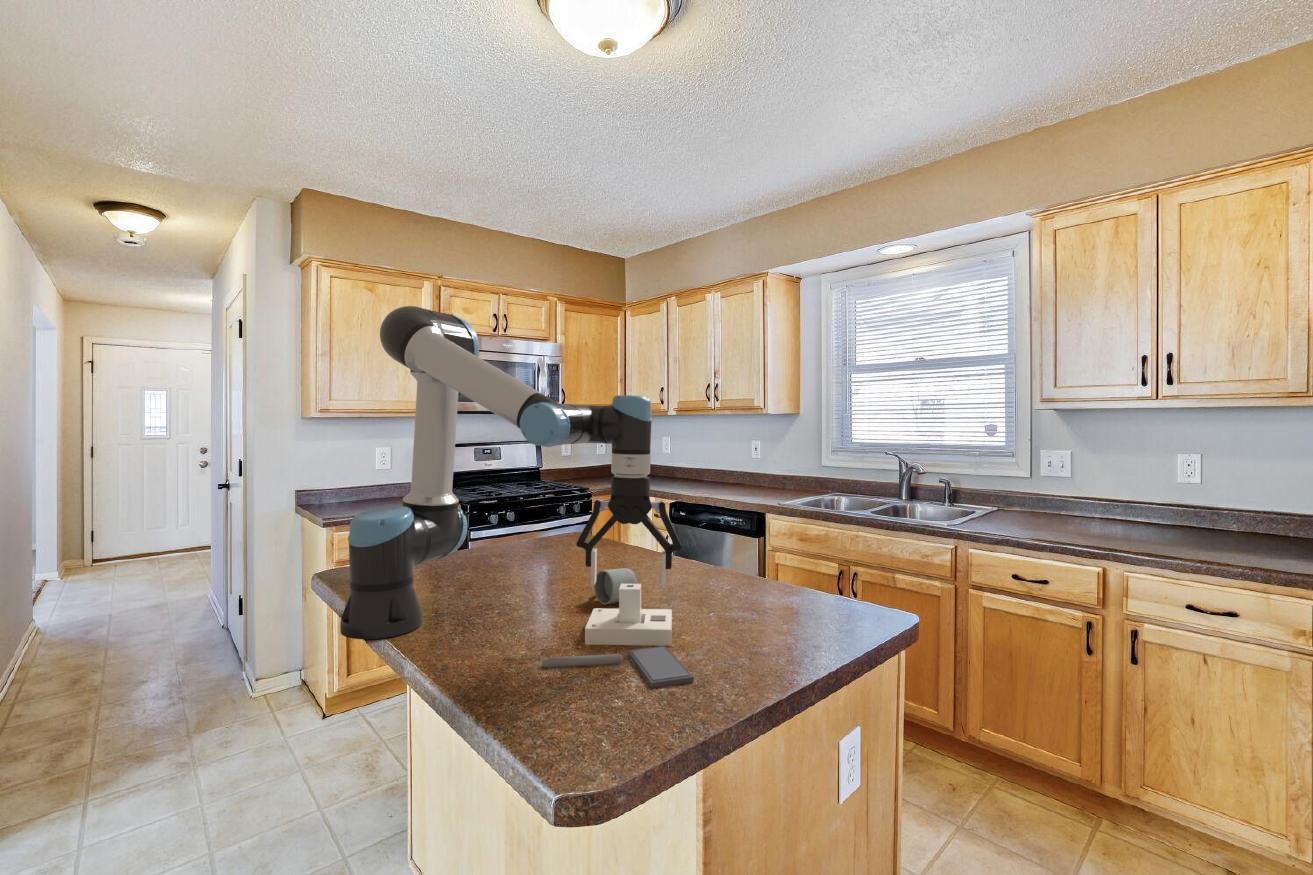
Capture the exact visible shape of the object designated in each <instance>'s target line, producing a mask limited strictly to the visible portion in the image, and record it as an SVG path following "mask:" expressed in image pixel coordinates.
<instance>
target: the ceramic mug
mask: <svg viewBox="0 0 1313 875" xmlns="http://www.w3.org/2000/svg"><path fill="white" fill-rule="evenodd" d="M621 584H640V582H639V578H638V576H637V574H636V572H635V571H634V570H633V569H631V568H625V567H621V568H613V569H612V568H611V569H601V570H599V571H598V573H597V574H596V583H595V585H593V586H594V594H595V597H596V598H597V600H598V601H599V603H601V604H602V605H604V606H605V605H606V606H607V605H611V604H616V603H619V588H620V585H621Z"/></svg>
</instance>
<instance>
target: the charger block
mask: <svg viewBox="0 0 1313 875" xmlns="http://www.w3.org/2000/svg"><path fill="white" fill-rule="evenodd" d="M618 609H619V623H641V609H642V583H639V584H621V585H620V588H619V602H618Z"/></svg>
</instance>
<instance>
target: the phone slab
mask: <svg viewBox="0 0 1313 875" xmlns="http://www.w3.org/2000/svg"><path fill="white" fill-rule="evenodd" d="M627 656H628V657H629V659H631V661H632V663H633V664H634V665H635V667H636V668H637V670H638V671H639V672H640V674H641V675H642V677H643V678H644V680H645V681H646V682H647V684H648V685H649V687H650V688H651V689H654V688H662V687H666V686H667V687H668V686H675V685H682V684H689V683H694V680H695V678H694V676H693V674H691V672H690V671H689V670H688V669H687V667H685V666H684V665H683V663H681V662H680V660H679V659H678V658H677V657H676V656H675V654H673V653H672V652H671V651H670V650H669V648H668V646H654V647H645V648H636V649H628V650H627Z"/></svg>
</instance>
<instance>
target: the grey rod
mask: <svg viewBox="0 0 1313 875" xmlns="http://www.w3.org/2000/svg"><path fill="white" fill-rule="evenodd" d="M623 660H624V659H623V656H622V654H620V653H617V654H616V653H612V654H596V655H595V654H594V655H593V654H592V655H578V656H577V655H575V656H574V655H573V656H557V657H556V656H555V657H545V658H544V659H543V660H542V666H543V667H544V668H547V669H548V668H565V667H582V666H599V665H601V666H603V665H618V664H621V663H623Z"/></svg>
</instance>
